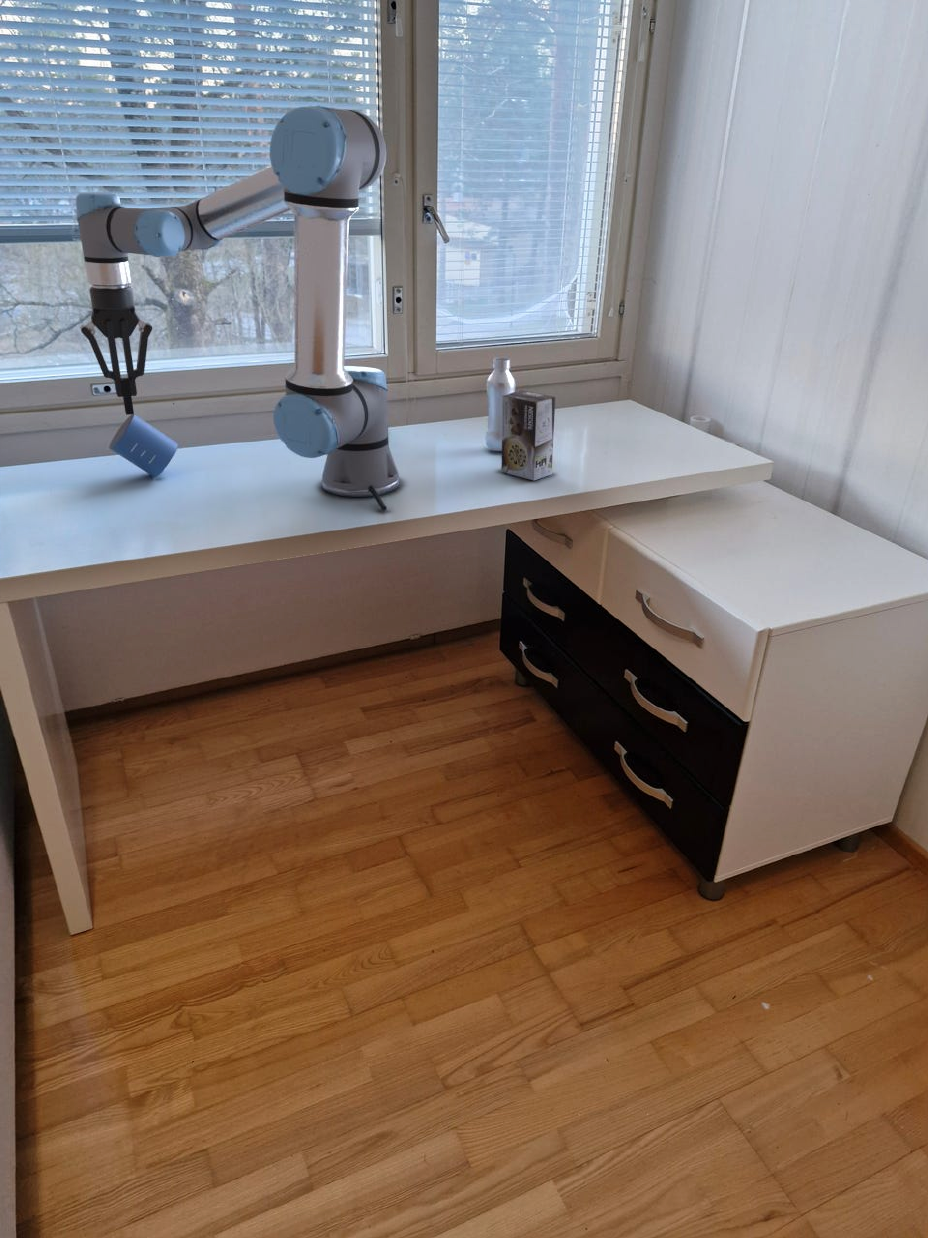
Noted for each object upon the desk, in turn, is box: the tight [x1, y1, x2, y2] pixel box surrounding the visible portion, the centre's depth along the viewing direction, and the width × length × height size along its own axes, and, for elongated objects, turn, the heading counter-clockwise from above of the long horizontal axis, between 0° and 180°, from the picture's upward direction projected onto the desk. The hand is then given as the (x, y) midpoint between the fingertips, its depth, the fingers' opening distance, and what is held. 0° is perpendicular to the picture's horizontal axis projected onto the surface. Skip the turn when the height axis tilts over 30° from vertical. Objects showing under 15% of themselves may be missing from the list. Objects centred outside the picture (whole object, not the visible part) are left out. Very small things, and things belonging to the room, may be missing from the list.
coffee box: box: [500, 389, 556, 481], centre depth 177 cm, size 9×6×16 cm
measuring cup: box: [108, 413, 179, 478], centre depth 175 cm, size 10×8×8 cm
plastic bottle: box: [485, 357, 517, 452], centre depth 191 cm, size 6×7×20 cm
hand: (129, 412), depth 172 cm, fingers closed
